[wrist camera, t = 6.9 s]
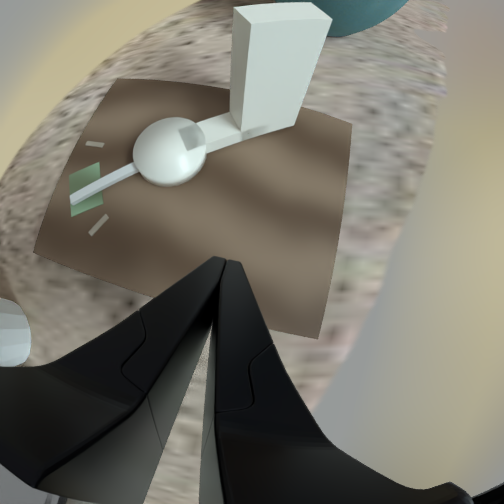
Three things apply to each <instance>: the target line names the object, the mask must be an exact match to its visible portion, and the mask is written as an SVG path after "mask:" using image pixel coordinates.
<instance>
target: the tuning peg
mask: <svg viewBox="0 0 504 504" xmlns="http://www.w3.org/2000/svg"><path fill="white" fill-rule="evenodd" d="M332 20H333V19H332V18H330V17H329V16H328V15H327V14H325V13H324V12H323V11H322V10H320V9H319V8H318V7H316V6H315V5H314V4H312V3H311V2H290V3H269V4H257V5H248V6H240V7H234V9H233V28H232V50H231V77H230V112H228V113H225V114H221V115H218V116H215V117H212V118H209V119H206V120H203V121H200V122H198V123H194V122H193V121H191V120H189V119H185V118H180V117H171V118H165V119H162V120H159V121H157V122H155V123H153V124H151V125H150V126H148V127H147V128H146V129H145V130H144V131H143V132H142V133H141V134H140V135H139V137H138V138H137V140H136V142H135V145H134V148H133V160H134V162H133V163H130V164H128V165H126V166H124V167H122V168H120V169H118V170H116V171H114V172H112V173H110V174H108V175H106V176H104V177H102V178H100V179H98V180H97V181H95V182H93V183H91V184H89V185H87V186H85V187H84V188H82V189H80V190H78V191H77V192H75V193H73V194H71V195H70V202H71V204H72V205H73V206H74V205H76V204H77V203H79V202H81V201H83V200H84V199H86V198H88V197H90V196H92V195H94V194H95V193H97V192H99V191H101V190H103V189H105V188H107V187H109V186H111V185H113V184H115V183H117V182H119V181H121V180H123V179H125V178H127V177H129V176H131V175H133V174H135V173H138V172H140V173H141V175H142V176H143V177H144V179H145V180H147V181H148V182H150V183H151V184H154V185H156V186H161V187H172V186H177V185H180V184H183V183H185V182H187V181H189V180H190V179H192V178H193V177H194V176H195V175H196V174H197V173H198V172H199V171H200V170H201V168H202V167H203V165H204V163H205V160H206V156H207V153H210V152H212V151H215V150H218V149H221V148H223V147H226V146H229V145H232V144H235V143H238V142H241V141H244V140H247V139H250V138H253V137H256V136H259V135H263V134H266V133H269V132H273V131H276V130H279V129H283V128H286V127H290V126H294V124H295V121H296V118H297V116H298V113H299V110H300V107H301V105H302V102H303V99H304V96H305V94H306V91H307V88H308V85H309V83H310V80H311V77H312V74H313V72H314V69H315V66H316V63H317V61H318V58H319V55H320V52H321V50H322V47H323V44H324V41H325V39H326V36H327V33H328V31H329V28H330V25H331V22H332Z"/></svg>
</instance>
